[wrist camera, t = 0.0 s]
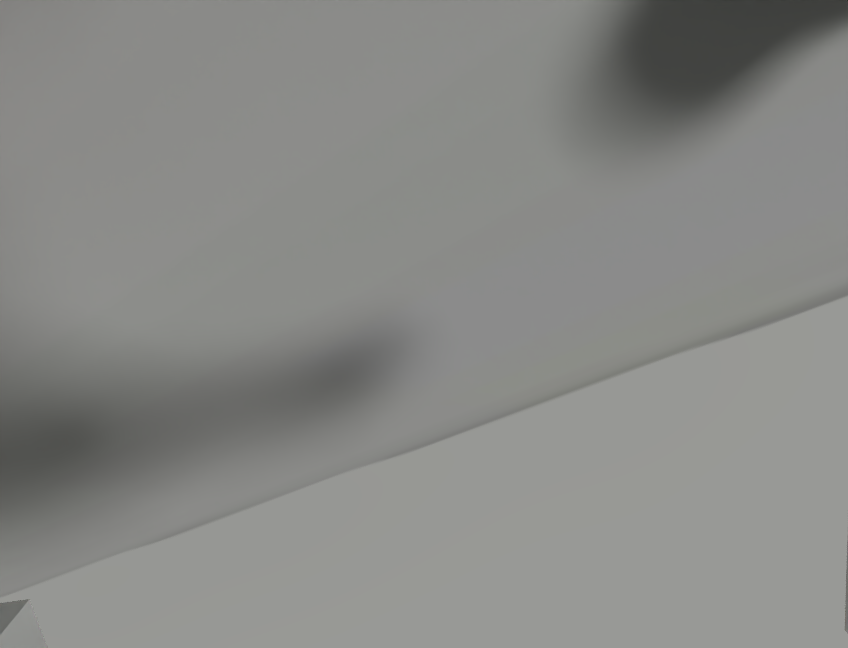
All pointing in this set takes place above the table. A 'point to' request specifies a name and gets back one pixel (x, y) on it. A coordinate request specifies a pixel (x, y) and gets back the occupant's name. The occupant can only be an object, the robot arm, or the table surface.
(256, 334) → the table surface
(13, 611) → the robot arm
